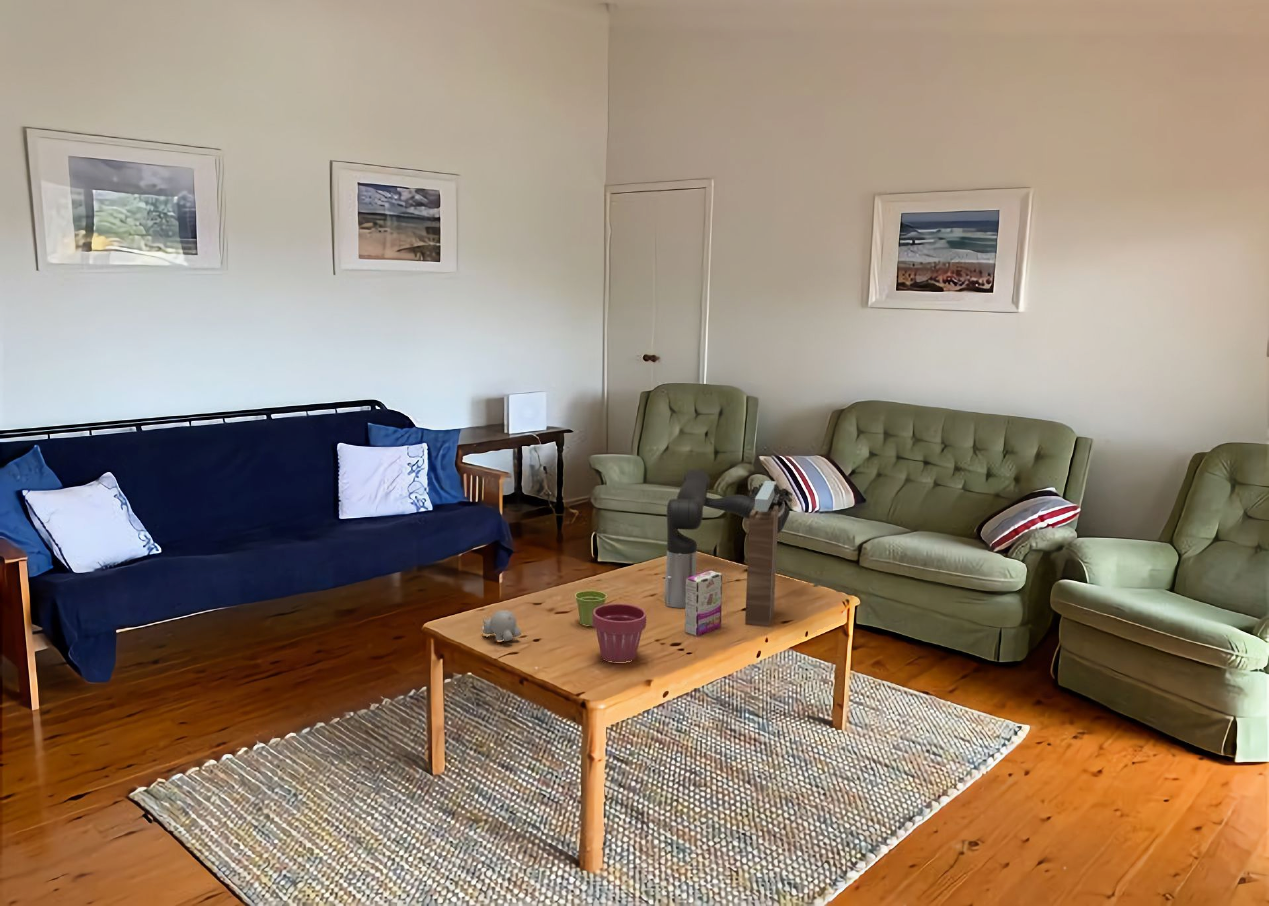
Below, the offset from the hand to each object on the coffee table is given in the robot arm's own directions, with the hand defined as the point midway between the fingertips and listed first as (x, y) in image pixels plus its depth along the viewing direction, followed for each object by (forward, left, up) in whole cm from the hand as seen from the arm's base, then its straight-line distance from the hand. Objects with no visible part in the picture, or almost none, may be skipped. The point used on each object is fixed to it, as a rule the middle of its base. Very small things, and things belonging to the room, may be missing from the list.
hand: (768, 486), depth 289 cm
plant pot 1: (-54, -11, -39) cm, 67 cm away
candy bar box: (-22, -18, -39) cm, 48 cm away
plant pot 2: (-48, -37, -39) cm, 72 cm away
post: (-3, -9, -38) cm, 39 cm away
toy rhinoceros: (-80, -22, -39) cm, 92 cm away
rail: (-2, -6, -3) cm, 7 cm away
